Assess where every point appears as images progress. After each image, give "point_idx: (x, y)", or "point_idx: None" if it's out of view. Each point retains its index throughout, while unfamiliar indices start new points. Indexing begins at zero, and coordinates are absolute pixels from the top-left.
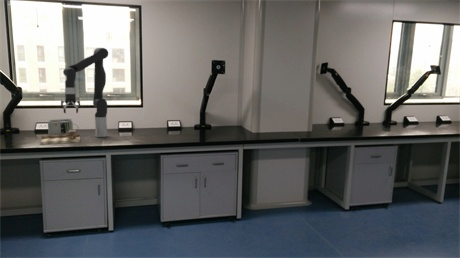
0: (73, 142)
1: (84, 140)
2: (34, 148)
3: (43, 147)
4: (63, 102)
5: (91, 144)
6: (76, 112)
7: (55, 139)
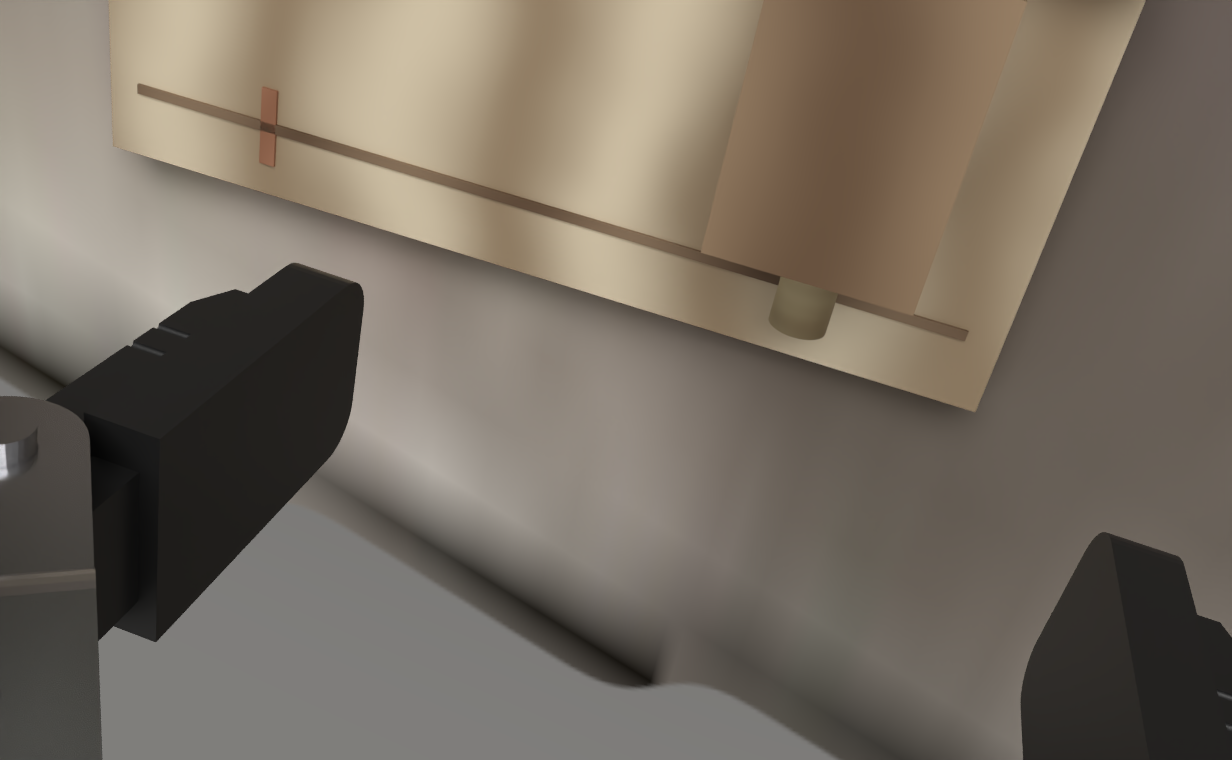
0: None
1: (1177, 229)
2: None
3: None
4: None
5: None
6: (1035, 728)
7: (418, 25)
